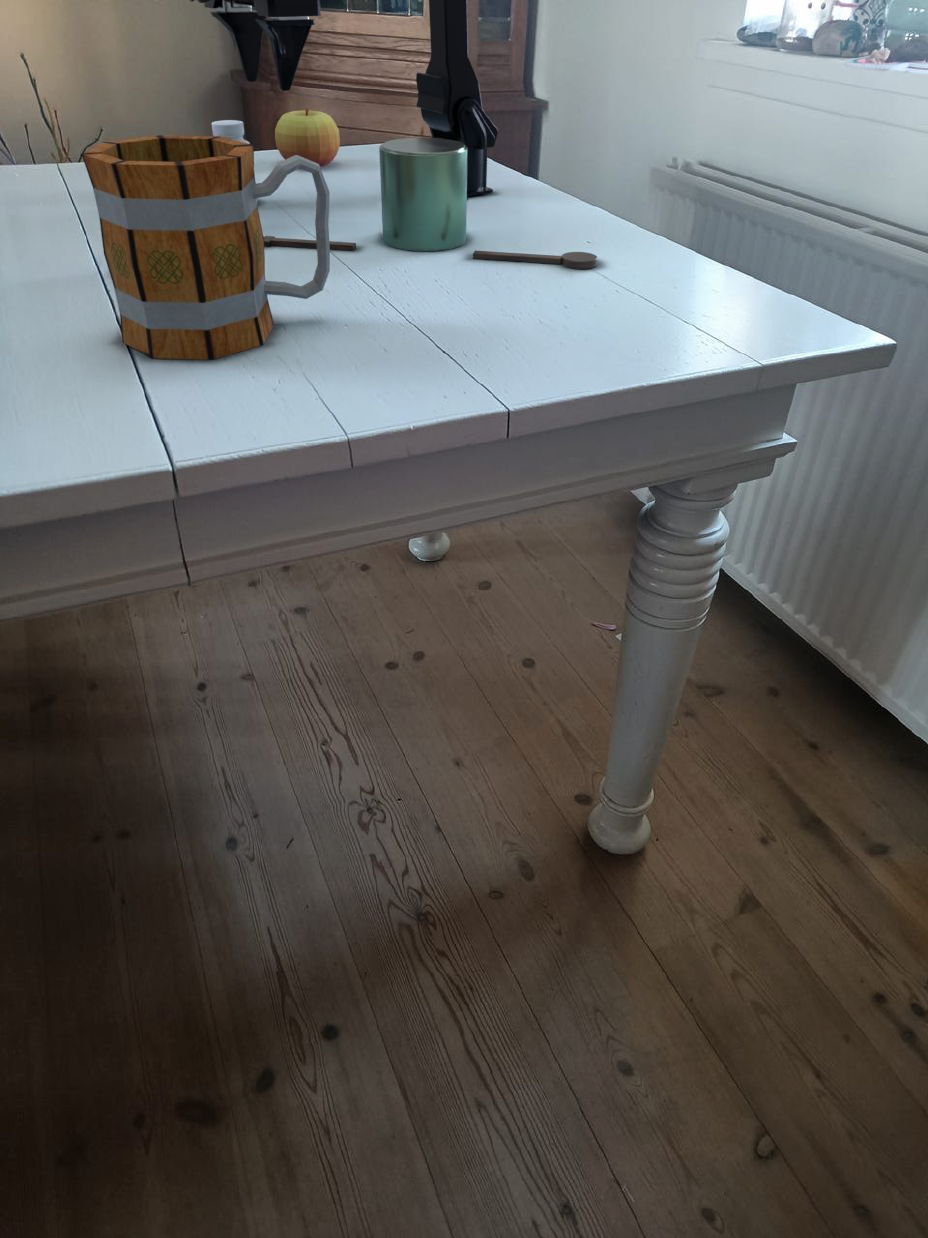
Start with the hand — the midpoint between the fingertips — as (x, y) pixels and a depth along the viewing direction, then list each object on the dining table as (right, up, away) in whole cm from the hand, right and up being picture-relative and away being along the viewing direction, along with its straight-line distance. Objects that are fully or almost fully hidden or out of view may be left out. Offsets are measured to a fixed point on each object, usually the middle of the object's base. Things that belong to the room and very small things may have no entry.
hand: (267, 85), depth 106 cm
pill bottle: (-7, -7, +15) cm, 18 cm away
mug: (+2, -37, -24) cm, 44 cm away
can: (+19, -18, +2) cm, 26 cm away
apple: (-1, +8, +36) cm, 37 cm away
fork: (+4, -20, -1) cm, 20 cm away
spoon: (+31, -23, -5) cm, 39 cm away
